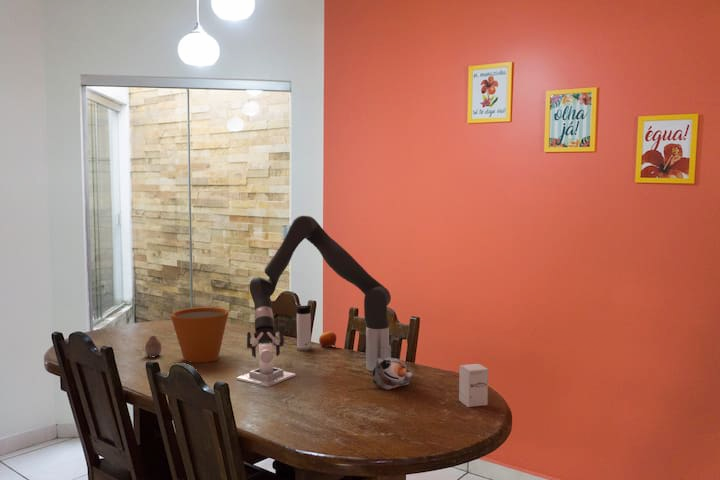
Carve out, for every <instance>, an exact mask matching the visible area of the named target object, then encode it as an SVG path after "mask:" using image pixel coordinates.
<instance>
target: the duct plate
mask: <svg viewBox="0 0 720 480" xmlns="http://www.w3.org/2000/svg"><path fill="white" fill-rule="evenodd" d="M296 376H297V374H296V373H294V372H290V371H286V370H284V369H283V368H278V367H274V366H273V372H272V373H270V374H263V373H260V372H259V367H258V368H254V369H253V370H250V371H249V372H248V373H245V374H243V375H239V376H237V377H236V380H237V381H241V382H246V383H250V384H254V385H257V386H263V387H268V388H269V387H272V386H274V385H276V384H279V383H281V382H284V381H286V380H288V379H291V378H293V377H296Z"/></svg>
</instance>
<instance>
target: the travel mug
mask: <svg viewBox="0 0 720 480" xmlns="http://www.w3.org/2000/svg"><path fill="white" fill-rule="evenodd" d="M311 308H312V305H302V306H298V307H296V345H297V346H296V348H297V350H298V351H301V352H302V351H305V352H306V351H310V350H311V347H312V342H311V341H312V339H311V338H312V334H311V333H312V330H311V329H312V328H311V325H312V323H311V318H312V317H311V315H312V314H311Z"/></svg>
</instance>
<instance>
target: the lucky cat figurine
mask: <svg viewBox="0 0 720 480" xmlns="http://www.w3.org/2000/svg"><path fill="white" fill-rule="evenodd" d="M413 375H414V370H412V369H410V368H409V369H408V367H407V364H406V363H405V362H403V361H401V359H399V358H395V357H391V358H386V359H384V360H382V359H381V358H379V359H377V363H376V367H375V368H374V370H373V371H372V383H373V384H375V385H376V387H377V388H379V389H383V390H388V391H390V390H391V389H395V388H397V387H404V386H408V385H410V380H411V379H412V377H413Z"/></svg>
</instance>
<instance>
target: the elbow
mask: <svg viewBox="0 0 720 480" xmlns="http://www.w3.org/2000/svg"><path fill="white" fill-rule="evenodd" d="M273 346H274V345H273V344H272V343H271V342H270V343H263V344H261V343H260V344H259V345H258V361H259V363H258V365H259V366H258V368H259V372H260V373H263V374H270V373H272V372H273V367H274V354H273V353H274V350H273V349H274V348H273Z"/></svg>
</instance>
